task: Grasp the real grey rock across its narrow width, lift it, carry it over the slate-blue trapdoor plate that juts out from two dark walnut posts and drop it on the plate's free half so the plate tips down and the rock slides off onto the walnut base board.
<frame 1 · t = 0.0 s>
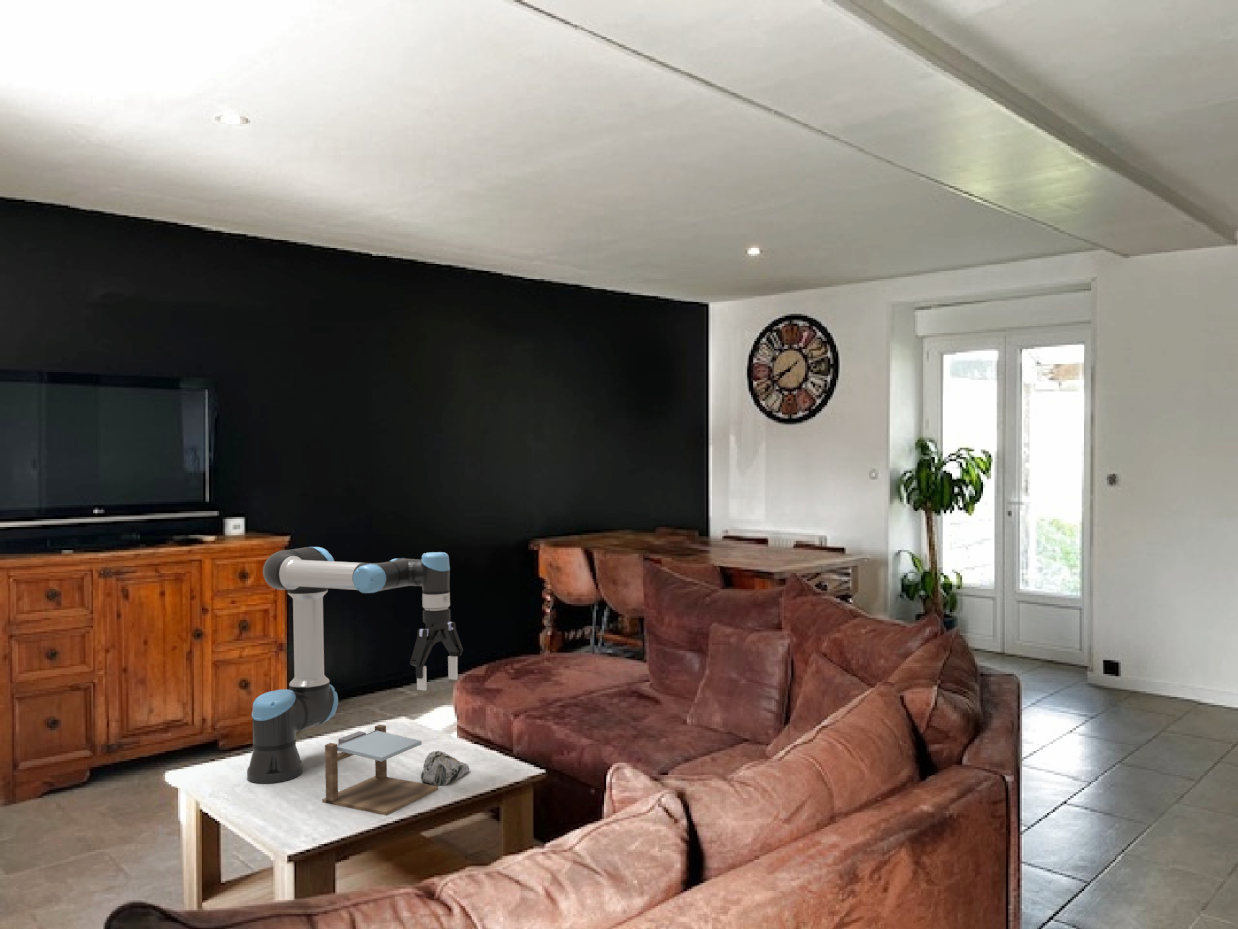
hand: (437, 684, 260), 28 cm above the table, fingers open, 13 cm apart
trapdoor: (375, 744, 253), point 14 cm above the table, hinge at -3.4°
frame: (381, 795, 252), on the table
rock: (444, 778, 266), on the table
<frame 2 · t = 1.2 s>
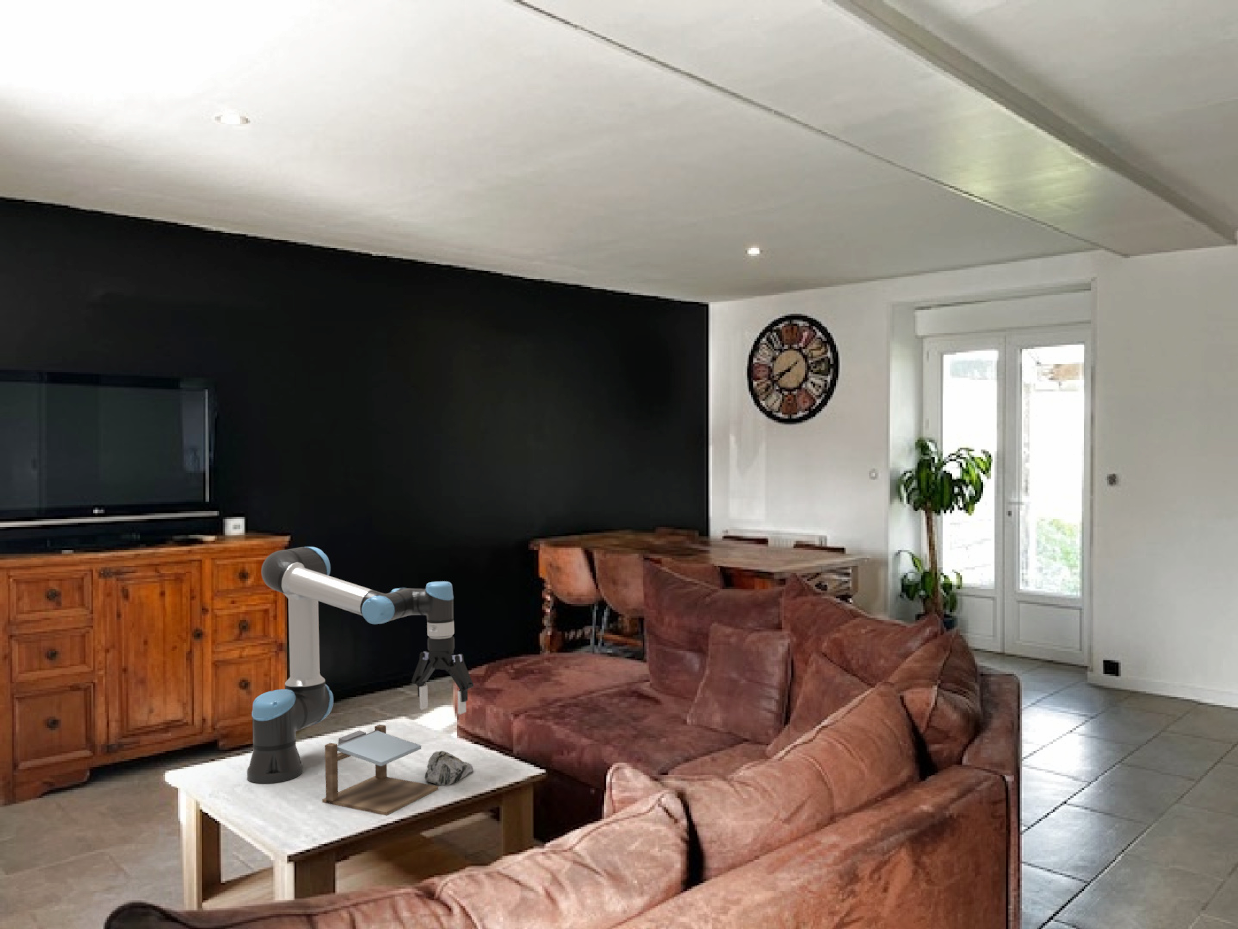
hand: (442, 711, 266), 19 cm above the table, fingers open, 13 cm apart
trapdoor: (374, 746, 253), point 13 cm above the table, hinge at -7.9°
rock: (447, 778, 266), on the table
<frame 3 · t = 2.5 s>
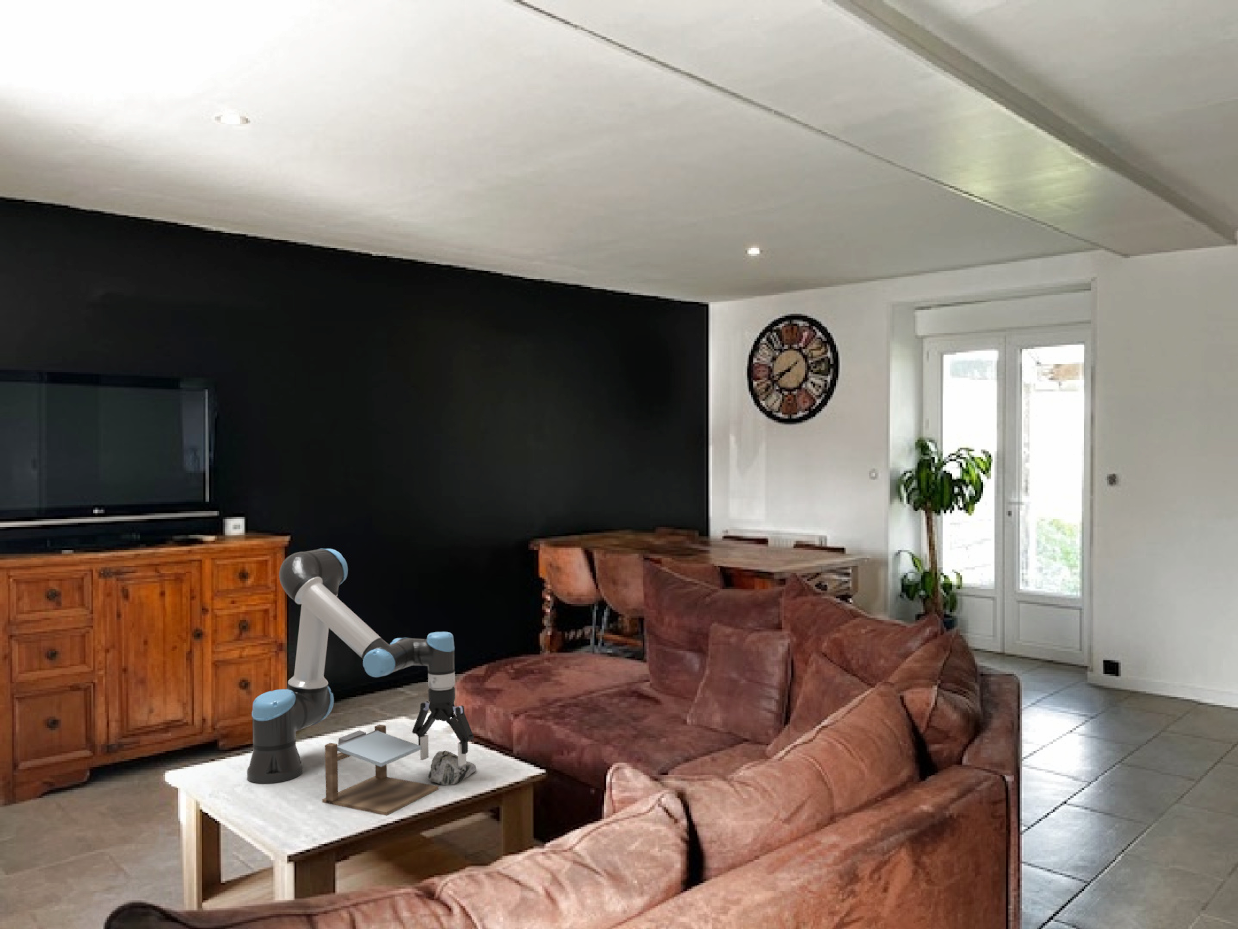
hand: (443, 762, 266), 4 cm above the table, fingers open, 13 cm apart
trapdoor: (374, 746, 253), point 13 cm above the table, hinge at -8.5°
rock: (451, 778, 266), on the table, touching gripper
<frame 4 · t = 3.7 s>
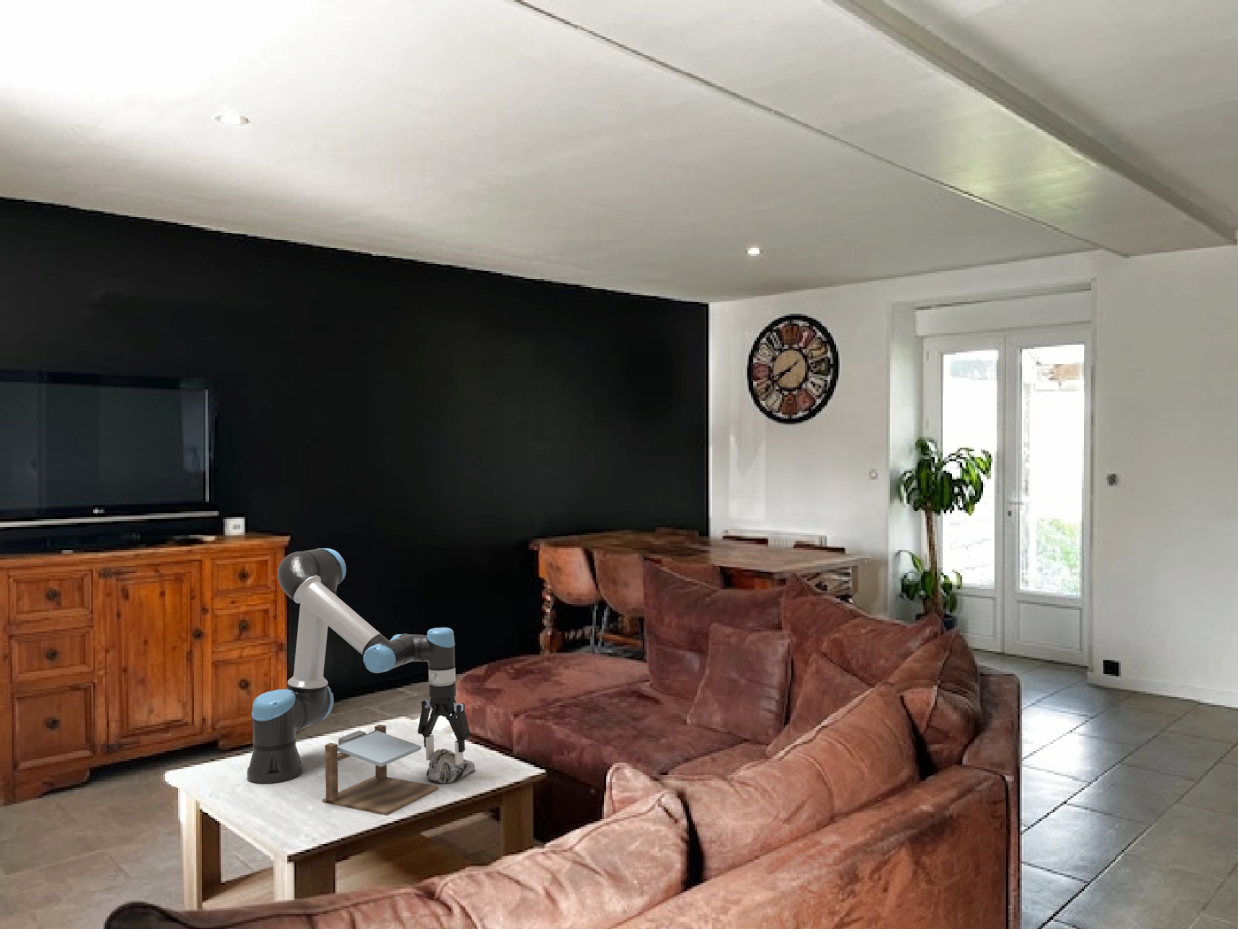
hand: (444, 761, 266), 4 cm above the table, fingers closed on rock, 10 cm apart
rock: (449, 776, 268), on the table, touching gripper
everything else where it was.
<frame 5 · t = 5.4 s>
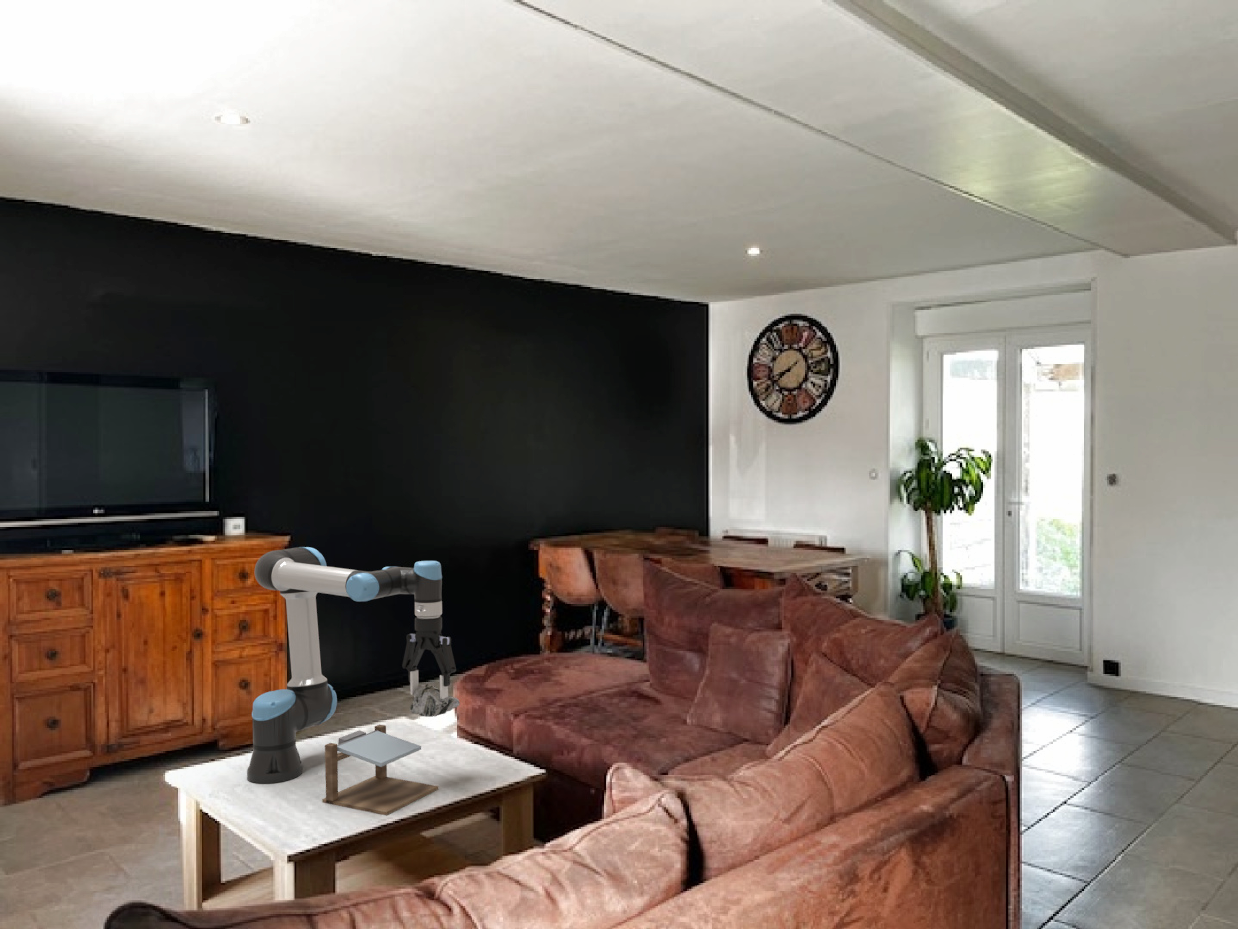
hand: (429, 695, 263), 24 cm above the table, fingers closed on rock, 10 cm apart
rock: (433, 711, 264), point 19 cm above the table, touching gripper
everything else where it was.
when the fingers open (21 cm above the table, at t = 7.3 s): rock drops 11 cm, resting on frame.
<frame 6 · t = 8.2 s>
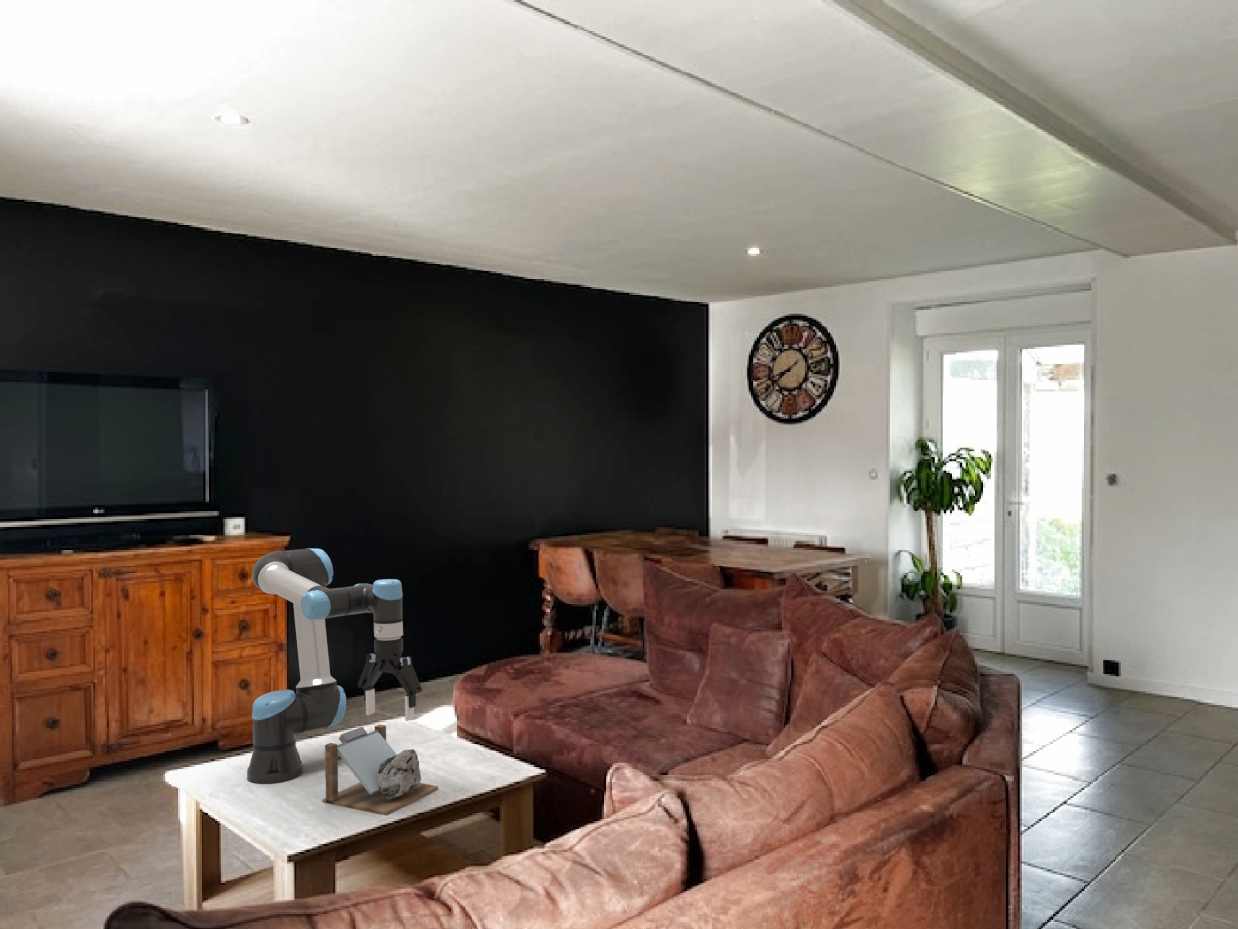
hand: (389, 716, 250), 22 cm above the table, fingers open, 13 cm apart
trapdoor: (370, 757, 254), point 10 cm above the table, hinge at -39.8°
rock: (394, 776, 252), point 5 cm above the table, touching frame
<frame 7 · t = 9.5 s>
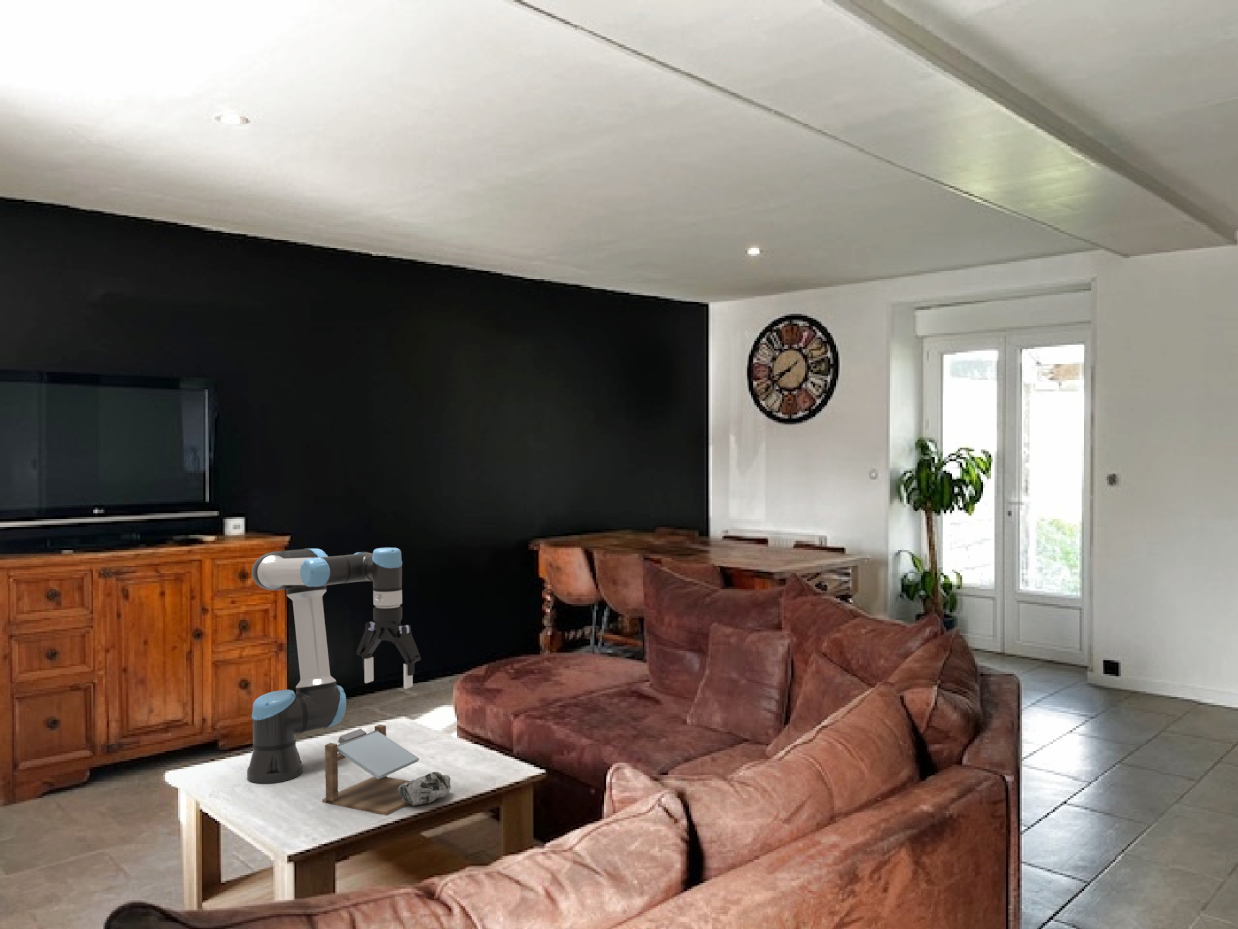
hand: (388, 684, 251), 30 cm above the table, fingers open, 13 cm apart
trapdoor: (373, 751, 253), point 12 cm above the table, hinge at -21.2°
rock: (422, 775, 249), point 6 cm above the table, touching frame
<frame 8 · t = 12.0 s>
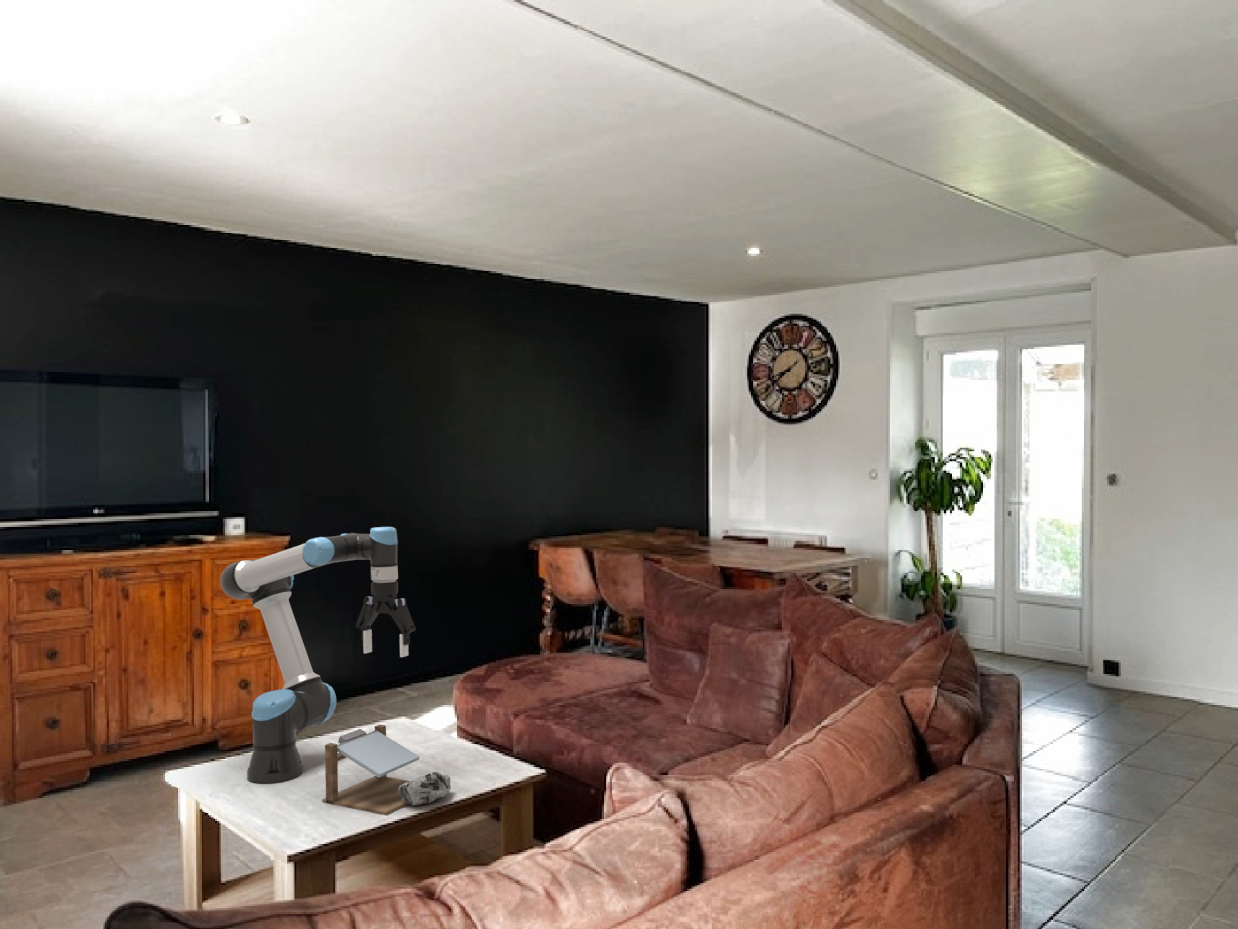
hand: (385, 654, 269), 35 cm above the table, fingers open, 13 cm apart
trapdoor: (374, 751, 253), point 12 cm above the table, hinge at -19.4°
everything else where it was.
at the end: rock point 6.5 cm above the table; rock 12.4 cm from the frame (horizontally) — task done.
